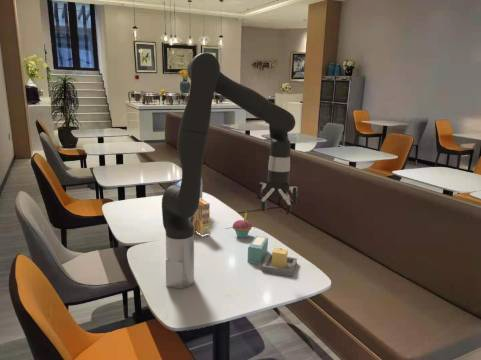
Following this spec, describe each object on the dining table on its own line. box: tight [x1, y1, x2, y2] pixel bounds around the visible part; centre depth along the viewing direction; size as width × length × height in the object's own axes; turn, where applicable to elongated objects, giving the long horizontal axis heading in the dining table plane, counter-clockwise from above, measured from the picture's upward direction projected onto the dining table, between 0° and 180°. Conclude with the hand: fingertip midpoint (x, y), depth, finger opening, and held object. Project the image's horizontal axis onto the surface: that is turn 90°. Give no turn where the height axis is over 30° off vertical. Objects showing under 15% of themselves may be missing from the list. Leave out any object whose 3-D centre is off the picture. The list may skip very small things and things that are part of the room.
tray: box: [261, 253, 298, 277], centre depth 140 cm, size 11×11×2 cm
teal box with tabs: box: [247, 235, 269, 265], centre depth 148 cm, size 12×5×6 cm, turn 163°
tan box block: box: [271, 247, 289, 269], centre depth 139 cm, size 4×5×6 cm
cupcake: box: [232, 211, 253, 238], centre depth 167 cm, size 9×8×12 cm
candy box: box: [192, 198, 211, 235], centre depth 168 cm, size 9×4×15 cm, turn 33°
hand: (276, 212), depth 136 cm, fingers open, 8 cm apart
